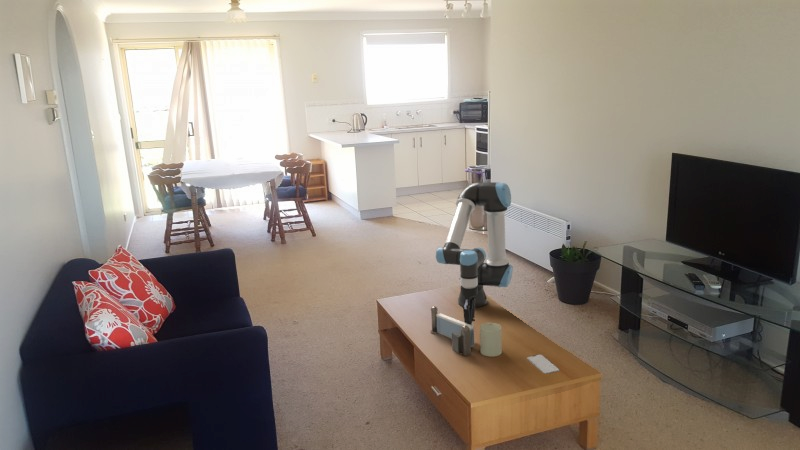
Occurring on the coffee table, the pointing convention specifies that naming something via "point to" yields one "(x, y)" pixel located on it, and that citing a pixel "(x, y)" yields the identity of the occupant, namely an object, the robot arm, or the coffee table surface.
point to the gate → (452, 326)
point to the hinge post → (434, 320)
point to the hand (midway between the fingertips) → (469, 335)
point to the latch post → (462, 341)
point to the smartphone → (543, 364)
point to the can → (490, 339)
